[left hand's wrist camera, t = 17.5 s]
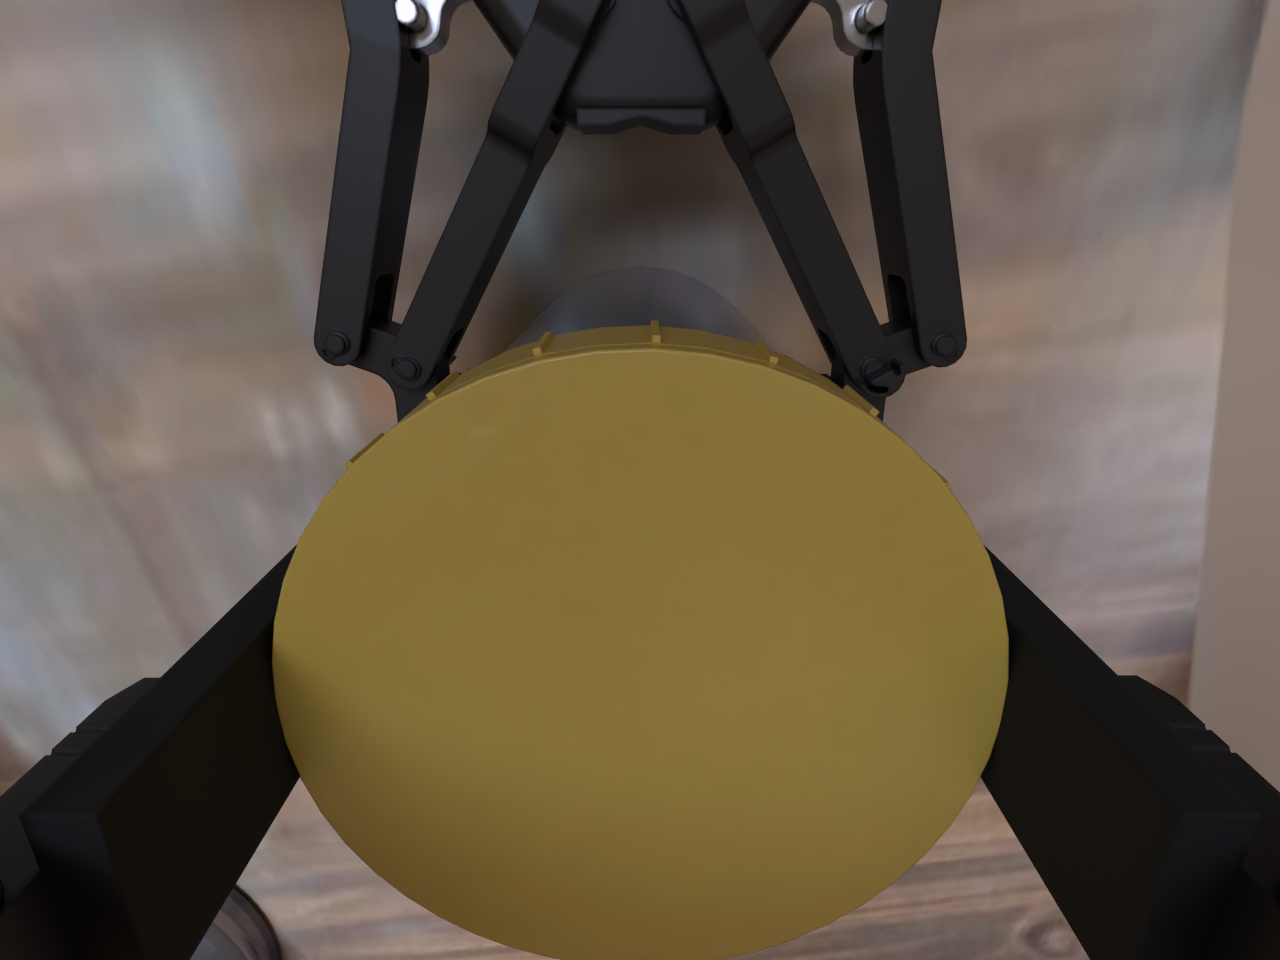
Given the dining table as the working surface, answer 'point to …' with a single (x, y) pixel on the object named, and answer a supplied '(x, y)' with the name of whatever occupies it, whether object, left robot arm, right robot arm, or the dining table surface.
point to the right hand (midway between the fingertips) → (640, 585)
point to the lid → (640, 649)
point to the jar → (639, 306)
